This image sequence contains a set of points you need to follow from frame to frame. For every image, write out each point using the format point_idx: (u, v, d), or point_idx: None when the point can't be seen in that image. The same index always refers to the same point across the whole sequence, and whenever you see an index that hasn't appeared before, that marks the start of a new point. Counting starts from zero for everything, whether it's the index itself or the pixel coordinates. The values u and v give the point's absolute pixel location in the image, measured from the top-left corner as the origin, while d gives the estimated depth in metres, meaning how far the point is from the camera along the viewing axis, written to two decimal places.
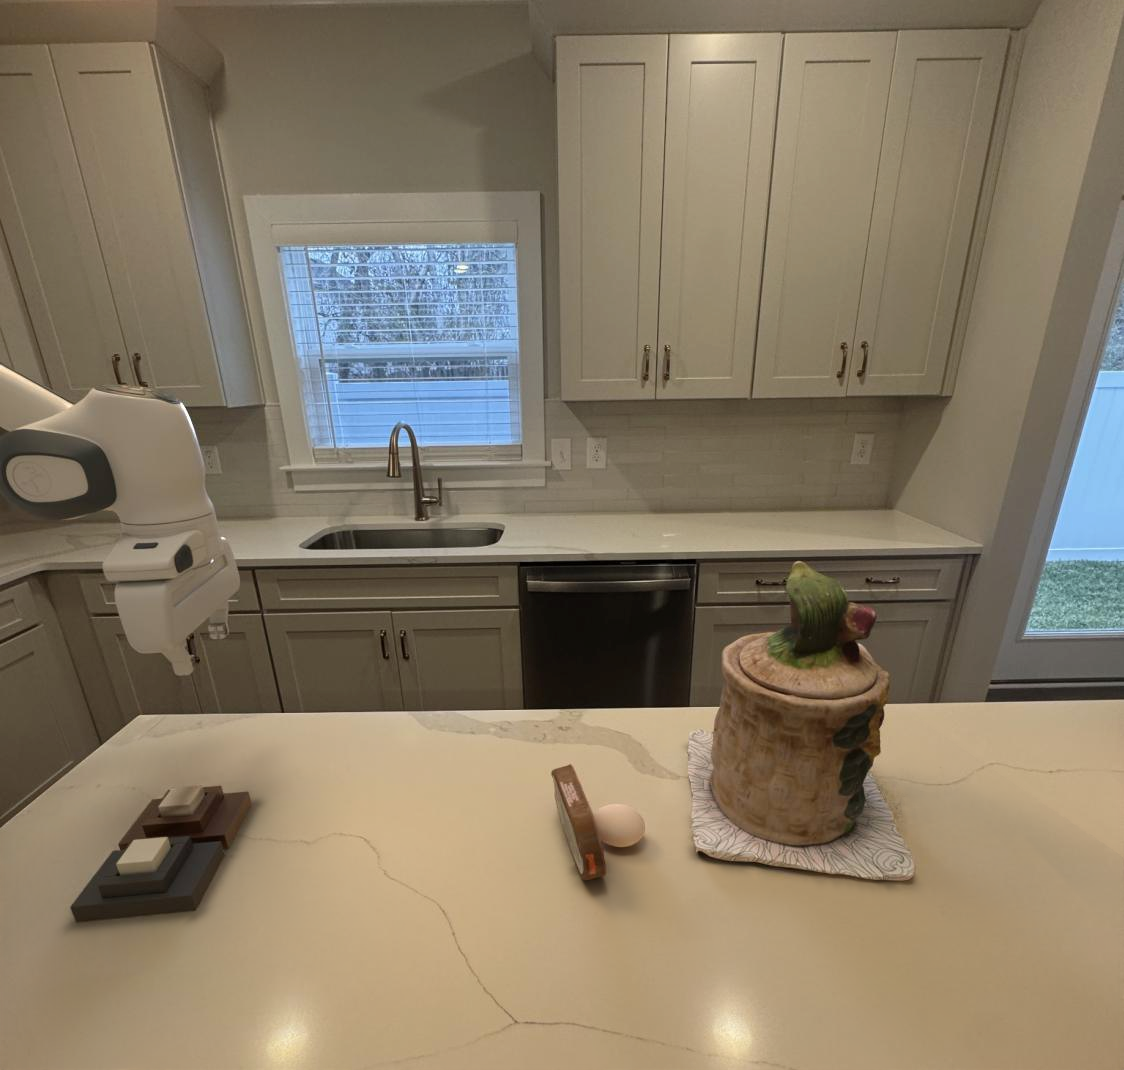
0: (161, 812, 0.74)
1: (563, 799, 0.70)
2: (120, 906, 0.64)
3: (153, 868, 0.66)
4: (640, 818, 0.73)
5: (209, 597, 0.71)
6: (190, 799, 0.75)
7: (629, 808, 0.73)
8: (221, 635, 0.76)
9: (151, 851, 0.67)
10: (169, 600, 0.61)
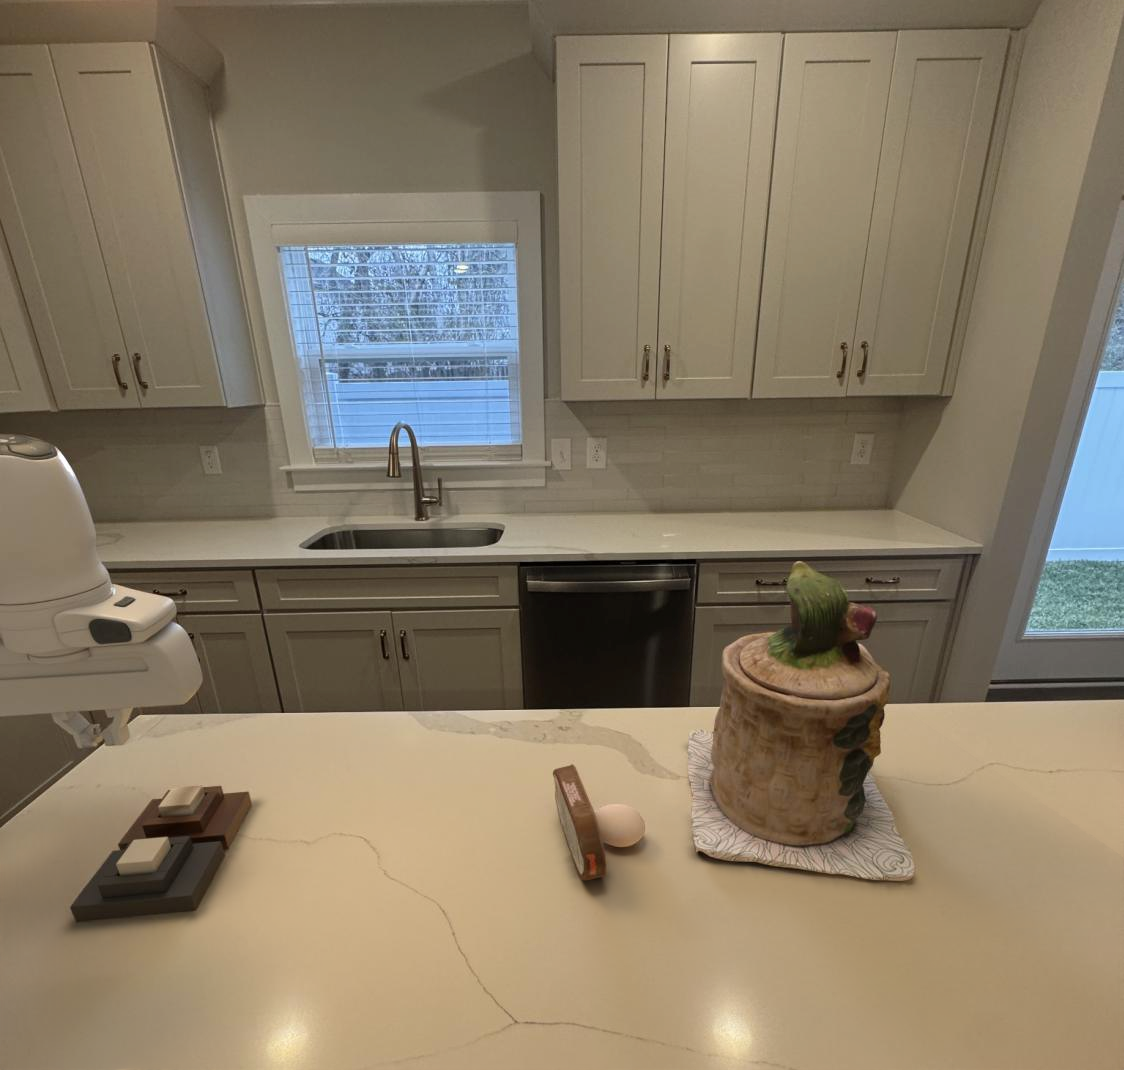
0: (161, 812, 0.74)
1: (565, 798, 0.70)
2: (120, 906, 0.64)
3: (153, 868, 0.66)
4: (640, 818, 0.73)
5: None
6: (190, 799, 0.75)
7: (629, 808, 0.73)
8: (100, 736, 0.62)
9: (151, 851, 0.67)
10: None
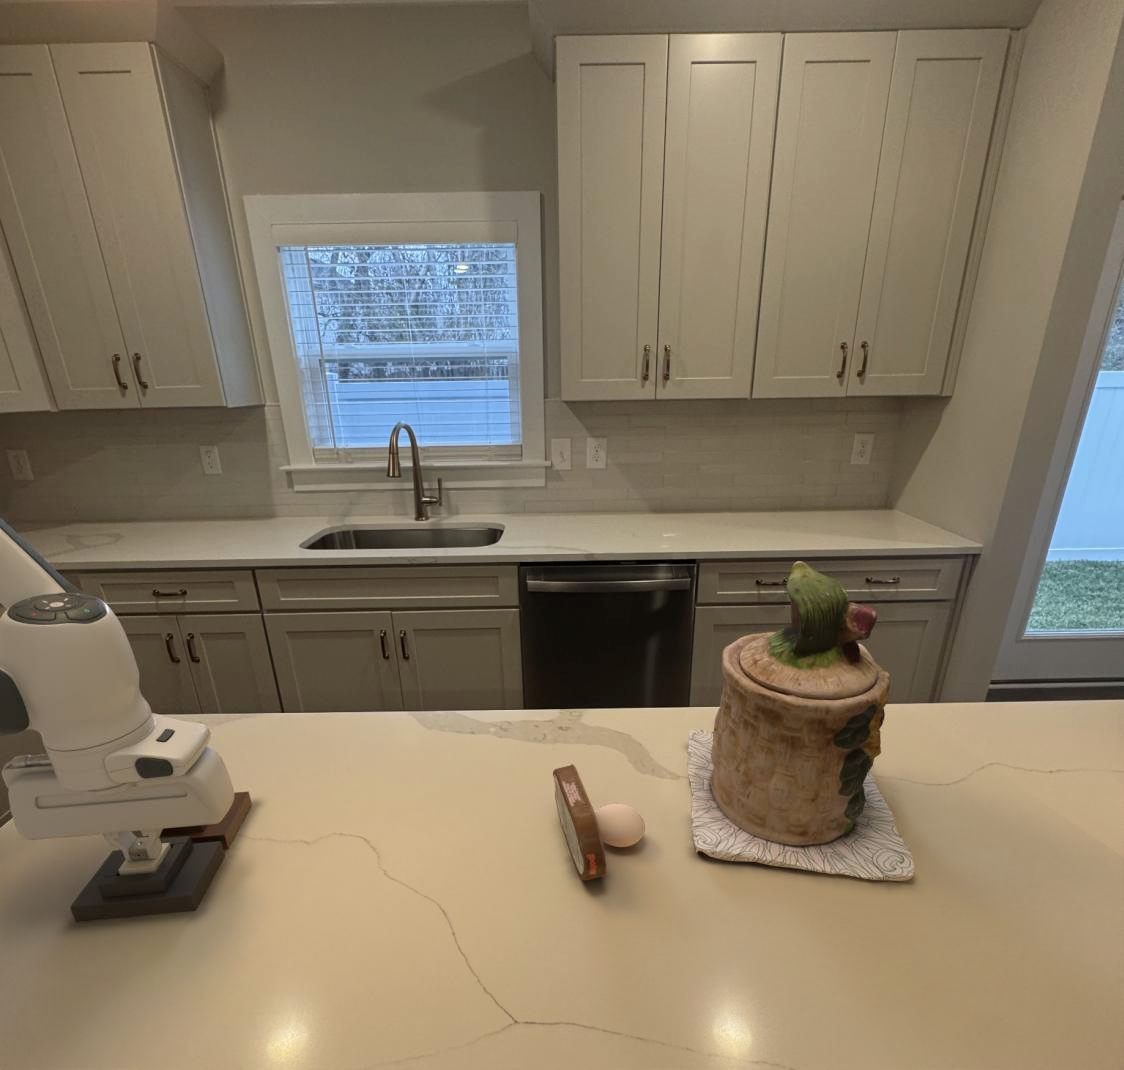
0: None
1: (565, 798, 0.70)
2: (120, 906, 0.64)
3: None
4: (640, 818, 0.73)
5: None
6: None
7: (629, 808, 0.73)
8: None
9: None
10: None
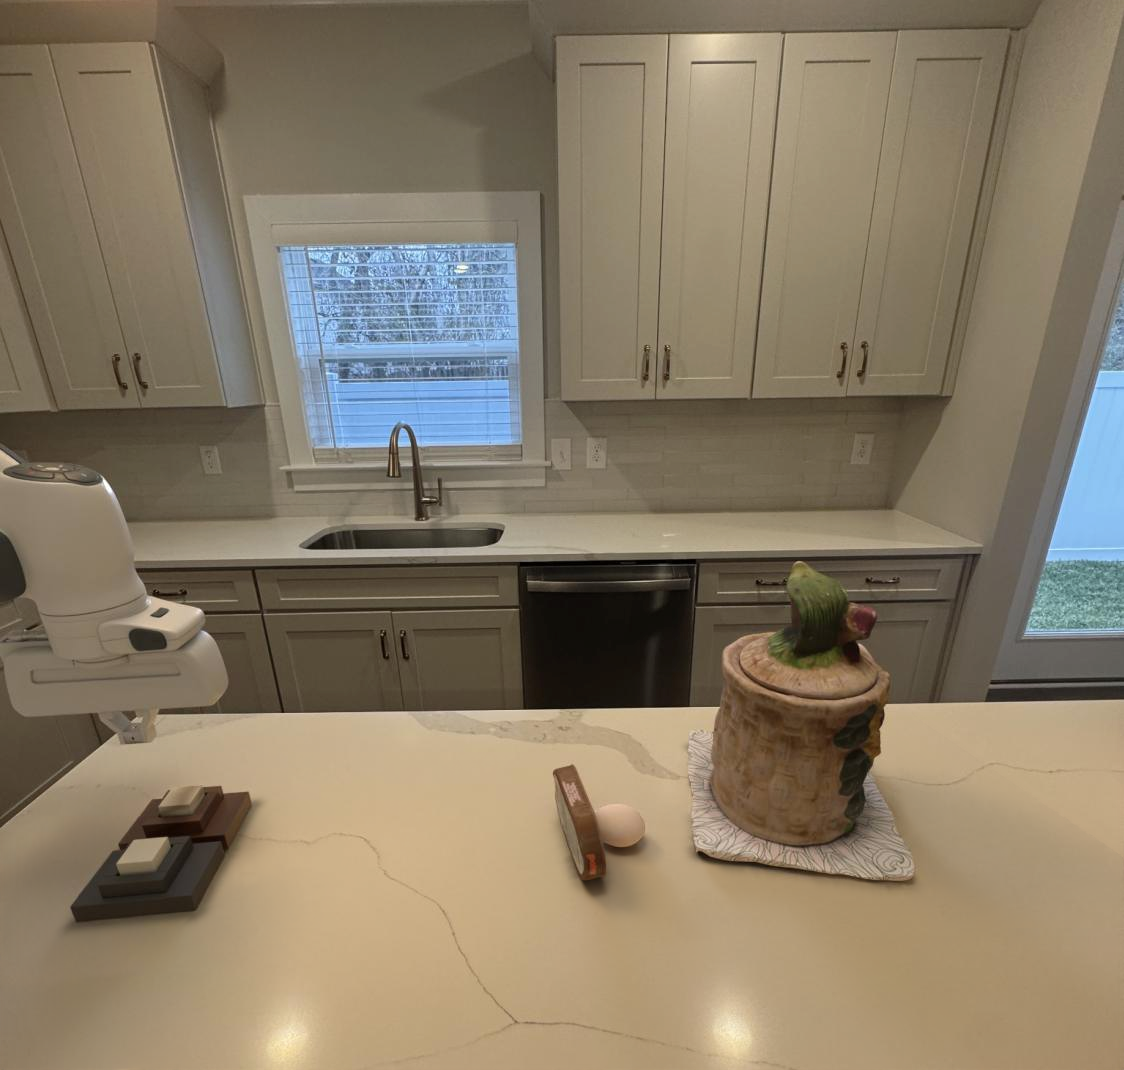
0: (161, 812, 0.74)
1: (565, 798, 0.70)
2: (120, 906, 0.64)
3: (153, 868, 0.66)
4: (640, 818, 0.73)
5: None
6: (190, 799, 0.75)
7: (629, 808, 0.73)
8: None
9: (151, 851, 0.67)
10: None
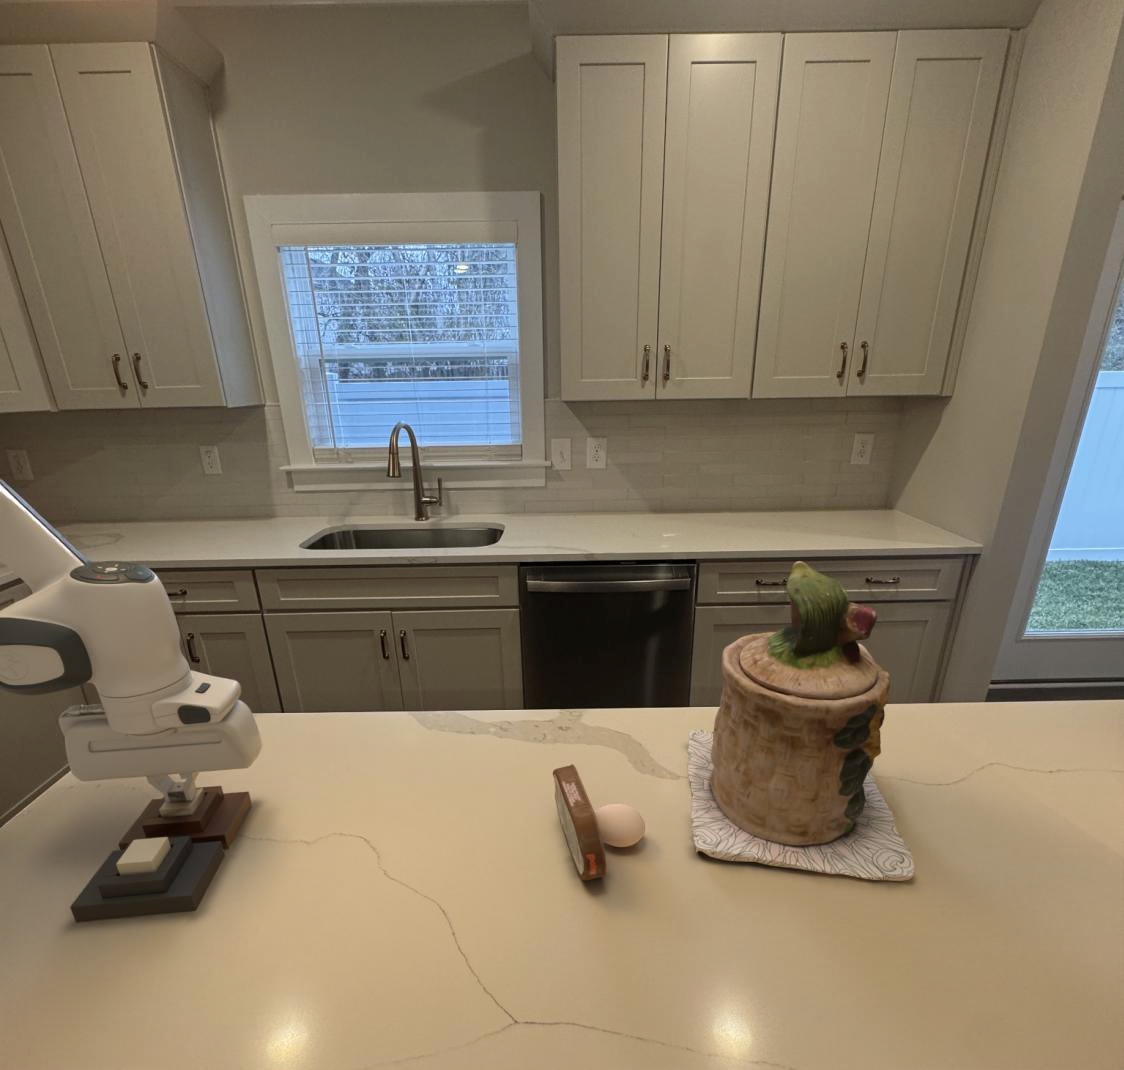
0: (162, 815, 0.74)
1: (565, 798, 0.70)
2: (120, 906, 0.64)
3: (153, 868, 0.66)
4: (640, 818, 0.73)
5: None
6: (191, 801, 0.75)
7: (629, 808, 0.73)
8: None
9: (151, 851, 0.67)
10: None
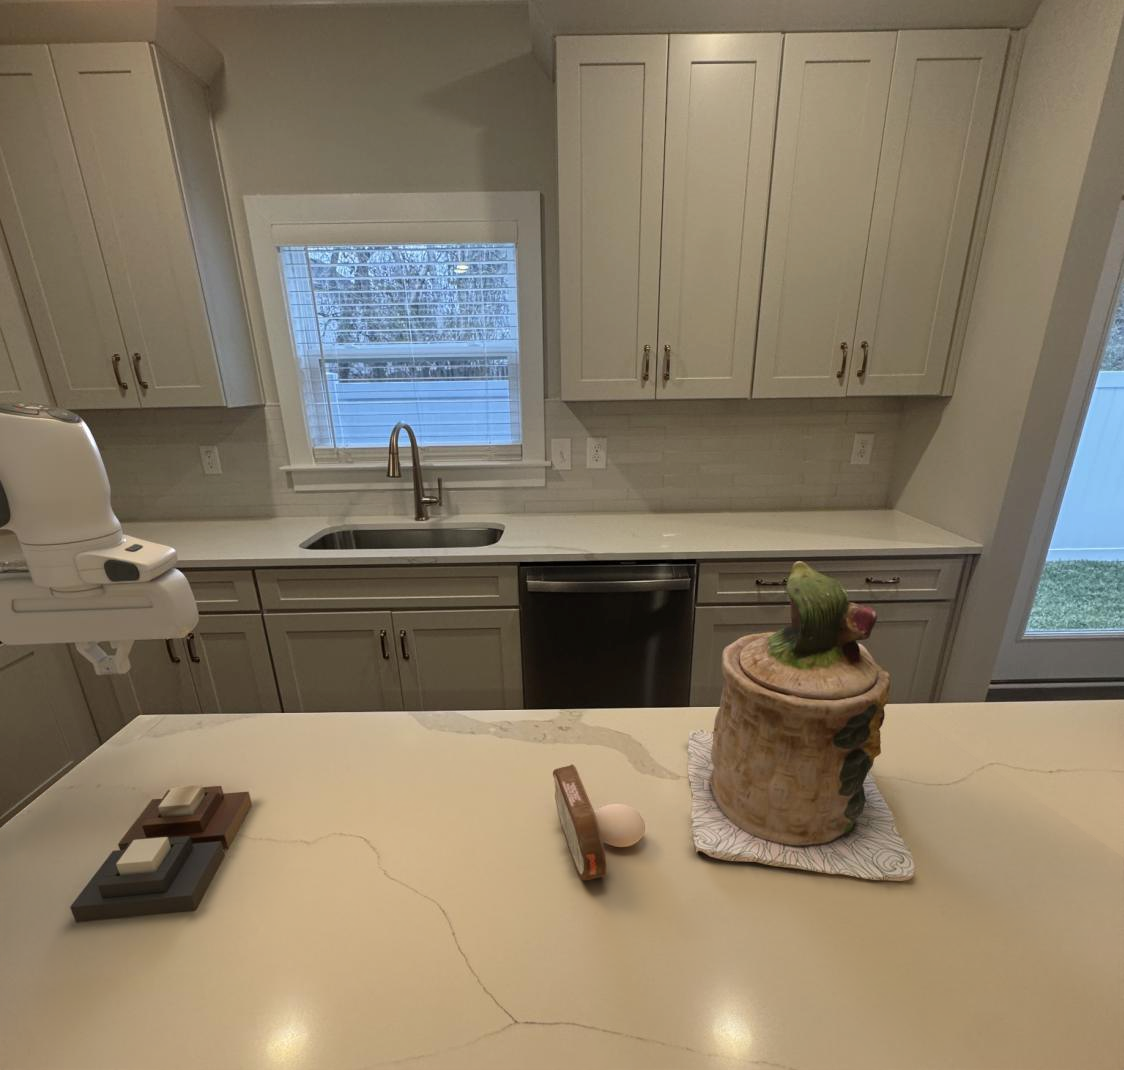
0: (161, 812, 0.74)
1: (565, 799, 0.70)
2: (120, 906, 0.64)
3: (153, 868, 0.66)
4: (640, 818, 0.73)
5: None
6: (190, 799, 0.75)
7: (629, 808, 0.73)
8: None
9: (151, 851, 0.67)
10: None
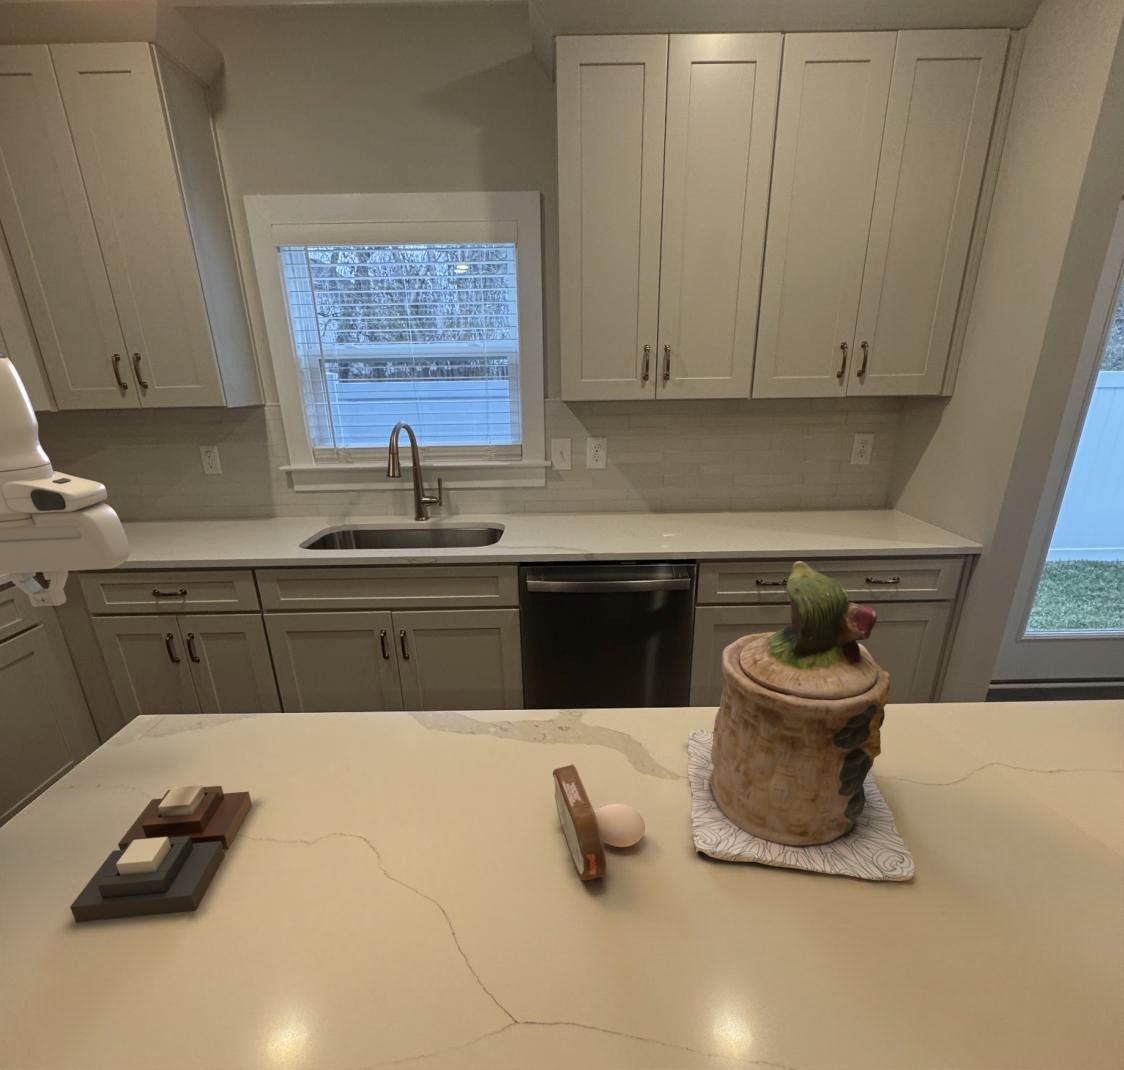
0: (161, 812, 0.74)
1: (565, 798, 0.70)
2: (120, 906, 0.64)
3: (153, 868, 0.66)
4: (640, 818, 0.73)
5: None
6: (190, 799, 0.75)
7: (629, 808, 0.73)
8: None
9: (151, 851, 0.67)
10: None
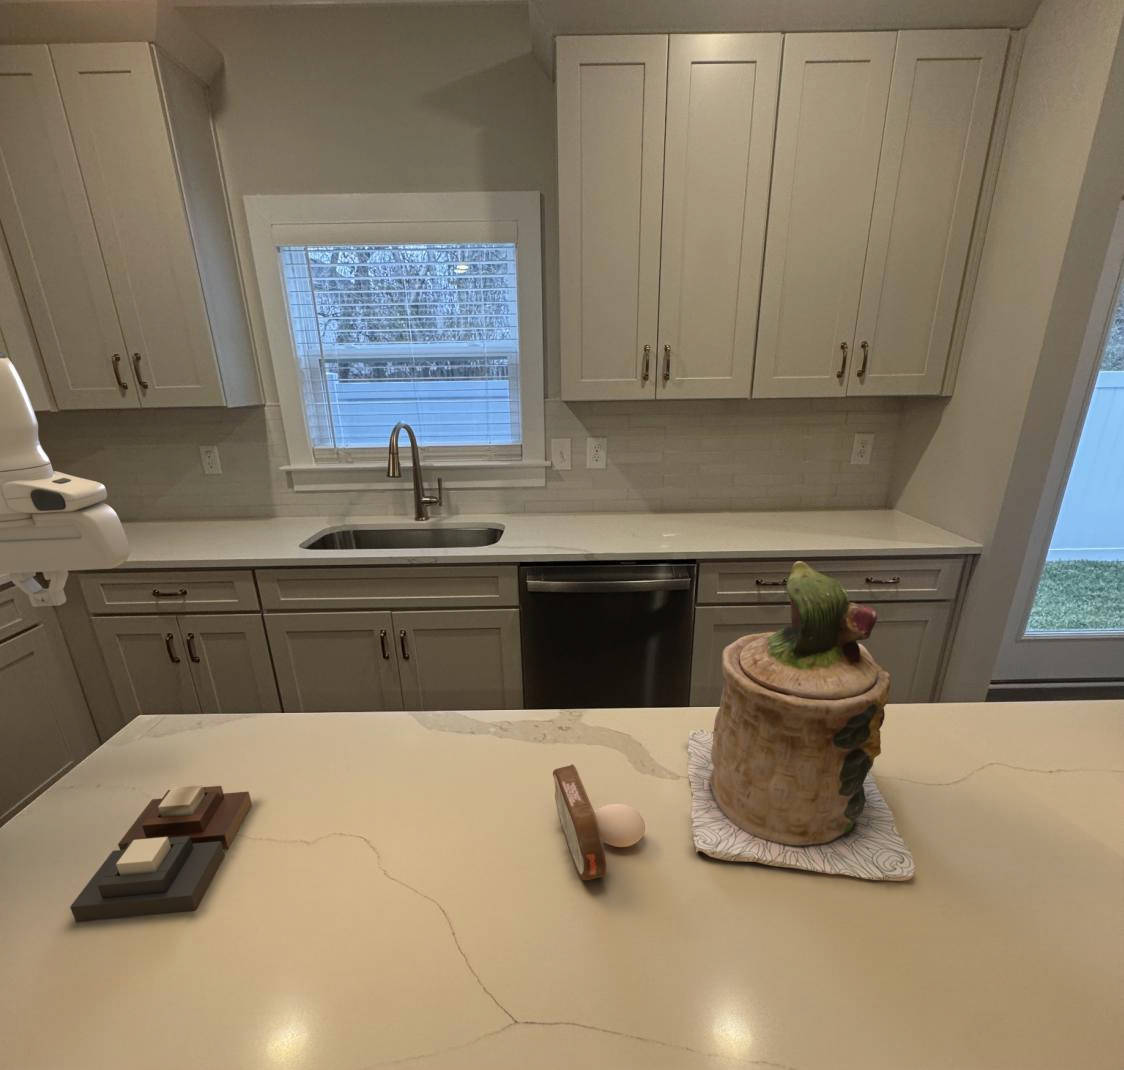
0: (161, 812, 0.74)
1: (565, 799, 0.70)
2: (120, 906, 0.64)
3: (153, 868, 0.66)
4: (640, 818, 0.73)
5: None
6: (190, 799, 0.75)
7: (629, 808, 0.73)
8: None
9: (151, 851, 0.67)
10: None
